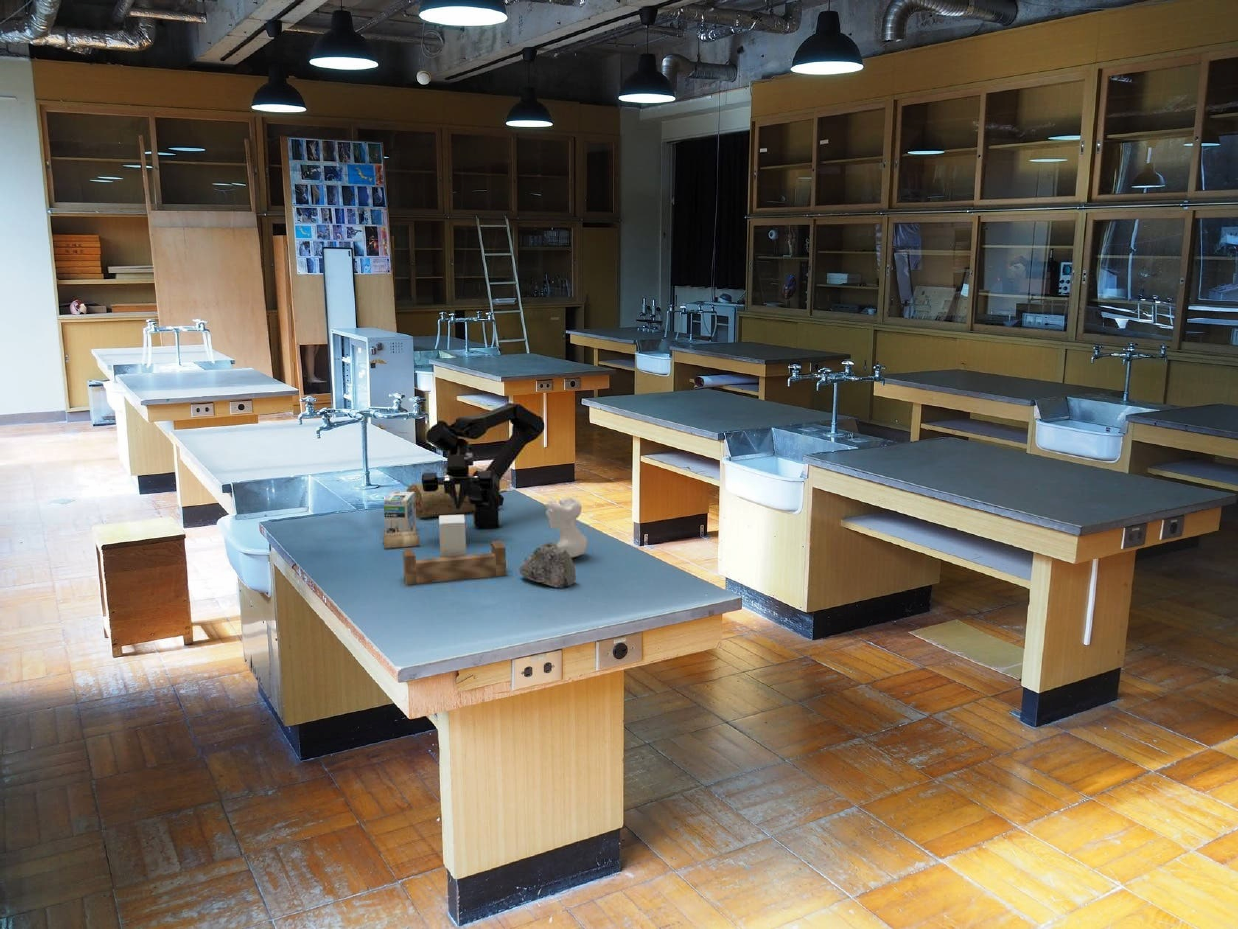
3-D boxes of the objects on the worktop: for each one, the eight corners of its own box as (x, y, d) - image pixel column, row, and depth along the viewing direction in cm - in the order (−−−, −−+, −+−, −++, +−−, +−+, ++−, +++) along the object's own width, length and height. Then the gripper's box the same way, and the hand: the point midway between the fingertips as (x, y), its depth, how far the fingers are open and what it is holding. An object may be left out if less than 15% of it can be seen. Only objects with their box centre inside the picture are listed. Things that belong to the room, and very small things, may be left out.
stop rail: (501, 568, 256) (500, 540, 254) (506, 575, 250) (505, 547, 249) (404, 577, 249) (402, 549, 248) (406, 584, 244) (405, 556, 242)
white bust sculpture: (569, 565, 257) (568, 507, 254) (536, 557, 264) (534, 500, 261) (594, 556, 265) (593, 499, 262) (560, 549, 272) (559, 493, 268)
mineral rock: (517, 577, 249) (516, 537, 247) (557, 571, 254) (557, 531, 251) (538, 593, 238) (537, 551, 235) (580, 586, 242) (580, 544, 240)
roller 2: (419, 548, 275) (418, 543, 277) (419, 537, 274) (418, 533, 276) (385, 550, 272) (384, 546, 275) (384, 540, 271) (383, 536, 274)
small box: (467, 574, 251) (465, 522, 249) (440, 575, 250) (438, 523, 248) (466, 564, 259) (464, 513, 256) (440, 565, 258) (438, 515, 255)
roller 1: (418, 543, 279) (416, 538, 282) (417, 533, 278) (416, 528, 280) (384, 546, 277) (383, 541, 279) (383, 536, 275) (382, 531, 278)
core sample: (404, 512, 311) (403, 479, 309) (487, 501, 323) (485, 470, 321) (419, 522, 299) (418, 489, 297) (504, 511, 311) (503, 478, 309)
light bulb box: (409, 538, 282) (407, 500, 280) (384, 538, 282) (382, 500, 280) (417, 528, 293) (415, 491, 290) (393, 528, 293) (391, 491, 291)
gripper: (420, 443, 272) (418, 493, 264) (491, 441, 274) (492, 491, 266) (424, 465, 282) (422, 515, 273) (493, 464, 284) (493, 513, 275)
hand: (457, 508), depth 272 cm, fingers closed
